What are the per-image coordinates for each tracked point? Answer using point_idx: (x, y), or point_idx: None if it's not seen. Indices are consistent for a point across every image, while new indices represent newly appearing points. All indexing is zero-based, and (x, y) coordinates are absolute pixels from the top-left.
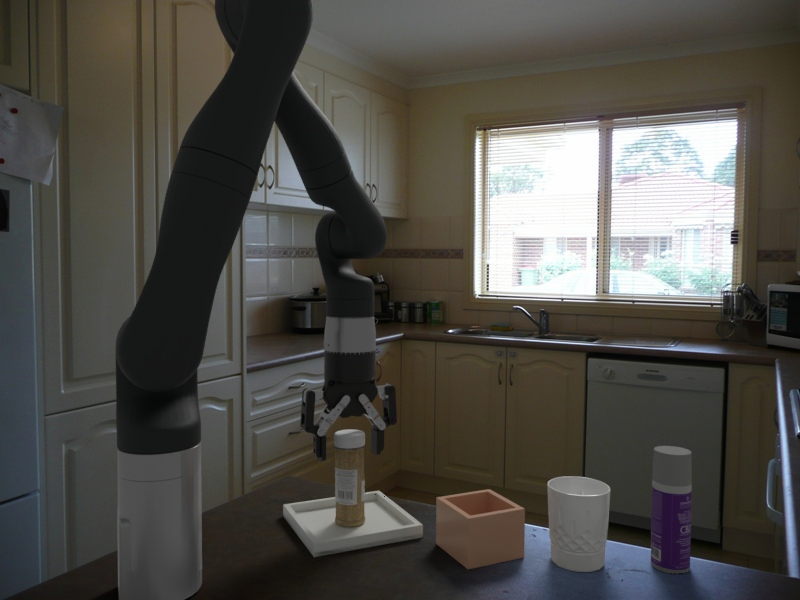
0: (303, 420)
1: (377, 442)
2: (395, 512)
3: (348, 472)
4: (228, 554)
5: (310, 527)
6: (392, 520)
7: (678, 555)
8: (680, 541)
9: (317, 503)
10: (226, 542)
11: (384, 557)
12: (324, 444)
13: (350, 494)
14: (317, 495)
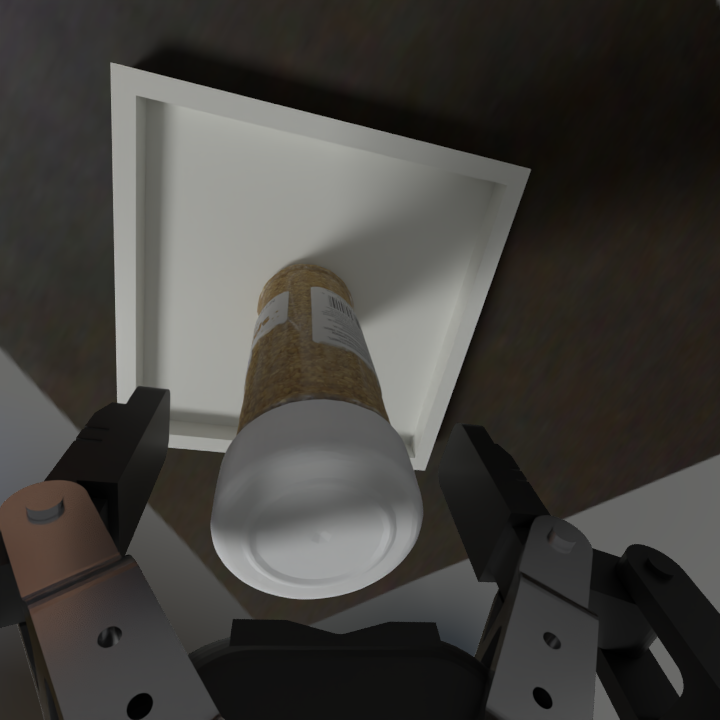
0: (647, 669)
1: (139, 428)
2: (141, 277)
3: (353, 348)
4: (640, 315)
5: (420, 335)
6: (174, 244)
7: None
8: None
9: None
10: (601, 378)
11: (344, 9)
12: (499, 477)
13: (337, 306)
14: None
